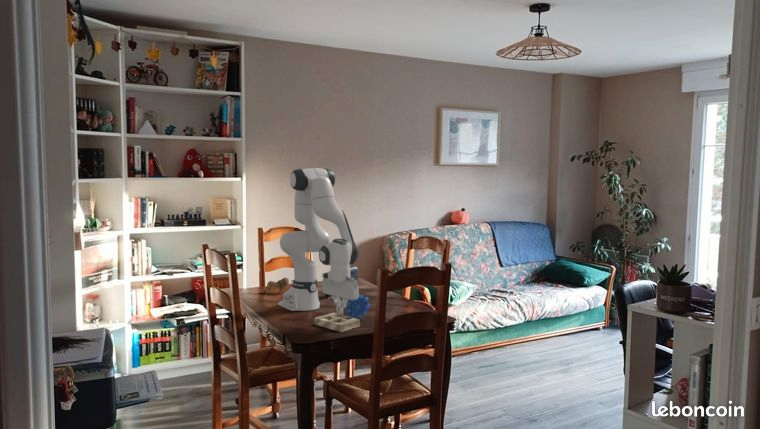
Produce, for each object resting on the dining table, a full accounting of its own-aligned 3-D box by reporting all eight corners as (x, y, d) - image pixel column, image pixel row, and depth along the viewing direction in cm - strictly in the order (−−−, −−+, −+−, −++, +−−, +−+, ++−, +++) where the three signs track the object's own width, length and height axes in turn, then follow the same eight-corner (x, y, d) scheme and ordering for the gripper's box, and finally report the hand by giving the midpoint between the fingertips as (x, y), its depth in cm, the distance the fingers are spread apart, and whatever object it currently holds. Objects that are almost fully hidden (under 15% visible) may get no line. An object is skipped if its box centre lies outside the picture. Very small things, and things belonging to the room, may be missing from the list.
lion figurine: (290, 292, 314) (290, 276, 314) (287, 294, 309) (287, 278, 308) (264, 291, 316) (264, 275, 315) (261, 293, 311) (261, 277, 310)
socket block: (314, 324, 255) (314, 317, 254) (333, 318, 264) (333, 312, 263) (341, 332, 244) (341, 324, 243) (360, 326, 253) (360, 319, 252)
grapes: (369, 316, 269) (369, 291, 268) (370, 320, 262) (370, 295, 261) (344, 316, 267) (344, 292, 266) (345, 320, 261) (345, 295, 259)
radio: (327, 299, 301) (327, 271, 299) (318, 296, 308) (318, 269, 306) (362, 293, 315) (362, 267, 314) (353, 290, 322) (353, 264, 321)
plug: (334, 316, 250) (335, 294, 249) (340, 315, 252) (340, 293, 251) (339, 317, 248) (340, 295, 247) (345, 316, 250) (345, 294, 249)
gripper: (362, 278, 244) (362, 309, 245) (329, 271, 257) (329, 301, 258) (352, 280, 239) (352, 311, 240) (319, 273, 252) (319, 303, 254)
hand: (340, 306), depth 249 cm, fingers closed on plug, 3 cm apart
